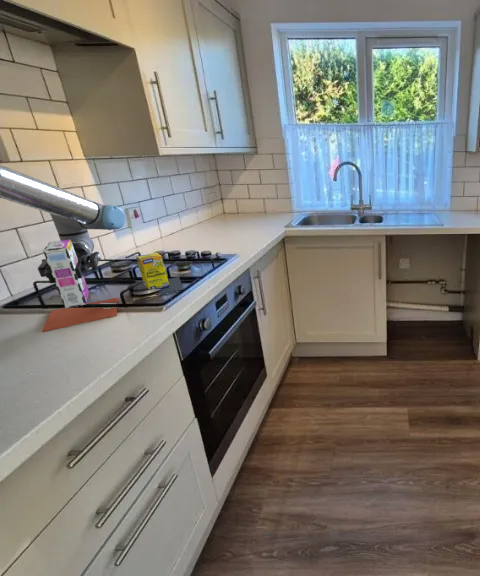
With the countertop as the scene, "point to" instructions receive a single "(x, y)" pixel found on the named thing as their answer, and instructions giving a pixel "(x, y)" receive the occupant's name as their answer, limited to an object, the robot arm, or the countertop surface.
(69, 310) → the terracotta mat
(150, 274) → the supplement box
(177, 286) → the slate mat
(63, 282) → the candy bar box
